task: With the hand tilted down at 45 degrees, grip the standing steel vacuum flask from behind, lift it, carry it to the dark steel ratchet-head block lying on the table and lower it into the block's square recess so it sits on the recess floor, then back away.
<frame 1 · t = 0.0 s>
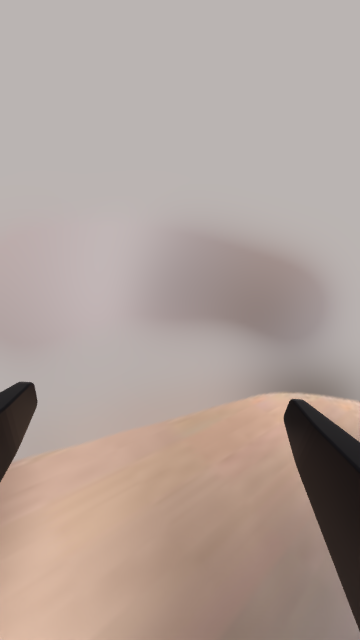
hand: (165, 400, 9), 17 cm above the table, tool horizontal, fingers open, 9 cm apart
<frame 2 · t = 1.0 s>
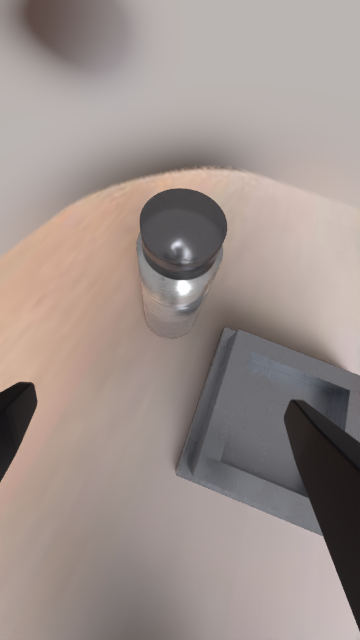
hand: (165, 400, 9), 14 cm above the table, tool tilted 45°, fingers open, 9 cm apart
steel vacuum flask: (170, 314, 25), on the table
ratchet block: (269, 421, 22), on the table
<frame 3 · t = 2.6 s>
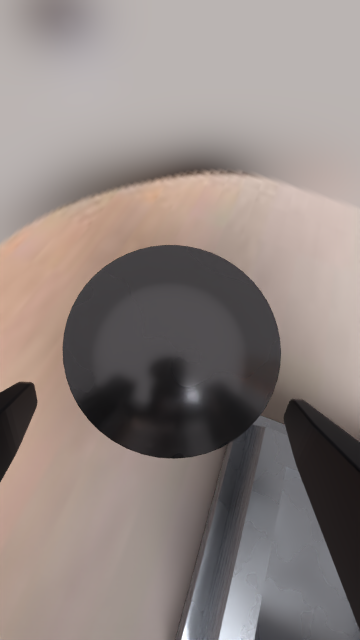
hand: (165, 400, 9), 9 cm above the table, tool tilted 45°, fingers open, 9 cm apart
steel vacuum flask: (162, 386, 17), on the table
ratchet block: (311, 556, 15), on the table
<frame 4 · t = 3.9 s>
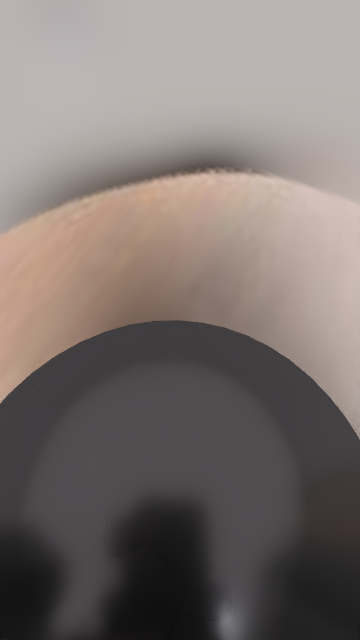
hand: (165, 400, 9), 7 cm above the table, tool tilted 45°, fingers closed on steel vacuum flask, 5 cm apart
steel vacuum flask: (159, 426, 15), on the table, touching gripper
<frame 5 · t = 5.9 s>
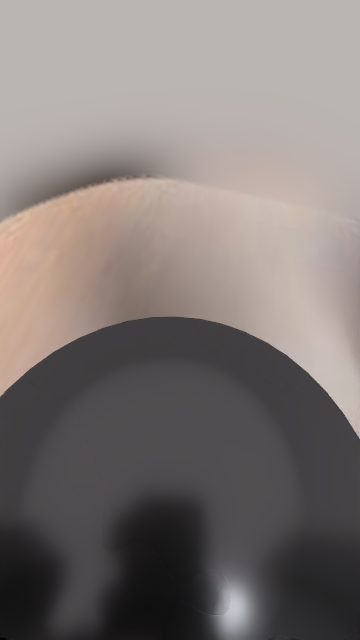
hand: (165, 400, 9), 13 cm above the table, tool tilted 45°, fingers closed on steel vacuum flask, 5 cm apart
steel vacuum flask: (159, 425, 15), point 7 cm above the table, touching gripper
when the fingers open (9 cm above the table, at t = 7.8 s): steel vacuum flask drops 1 cm, resting on ratchet block.
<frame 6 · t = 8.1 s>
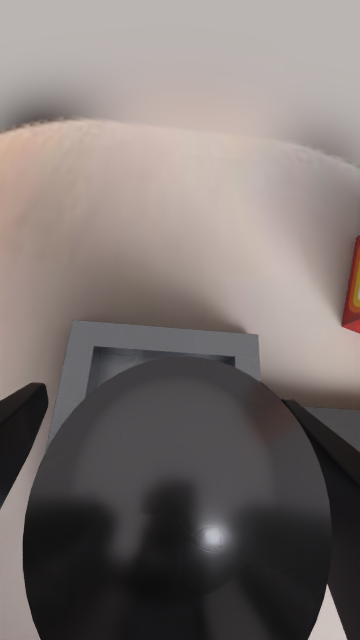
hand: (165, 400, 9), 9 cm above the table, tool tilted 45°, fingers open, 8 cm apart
steel vacuum flask: (159, 426, 16), point 1 cm above the table, touching ratchet block
ratchet block: (159, 423, 17), on the table
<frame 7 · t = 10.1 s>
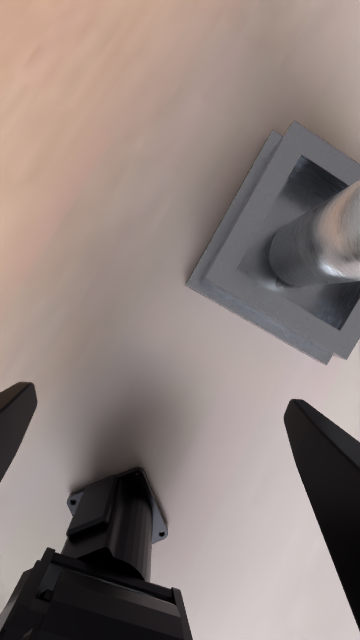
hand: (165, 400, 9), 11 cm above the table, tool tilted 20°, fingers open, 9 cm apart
steel vacuum flask: (300, 253, 19), point 1 cm above the table, touching ratchet block
ratchet block: (294, 254, 20), on the table
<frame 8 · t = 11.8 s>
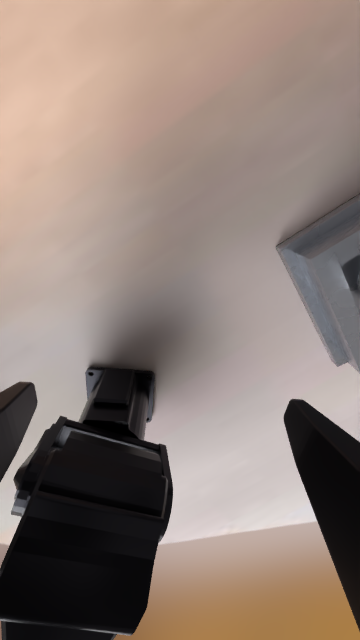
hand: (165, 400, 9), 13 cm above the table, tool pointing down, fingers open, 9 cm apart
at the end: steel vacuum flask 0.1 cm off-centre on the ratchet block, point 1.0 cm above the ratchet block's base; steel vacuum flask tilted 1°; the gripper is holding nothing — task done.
